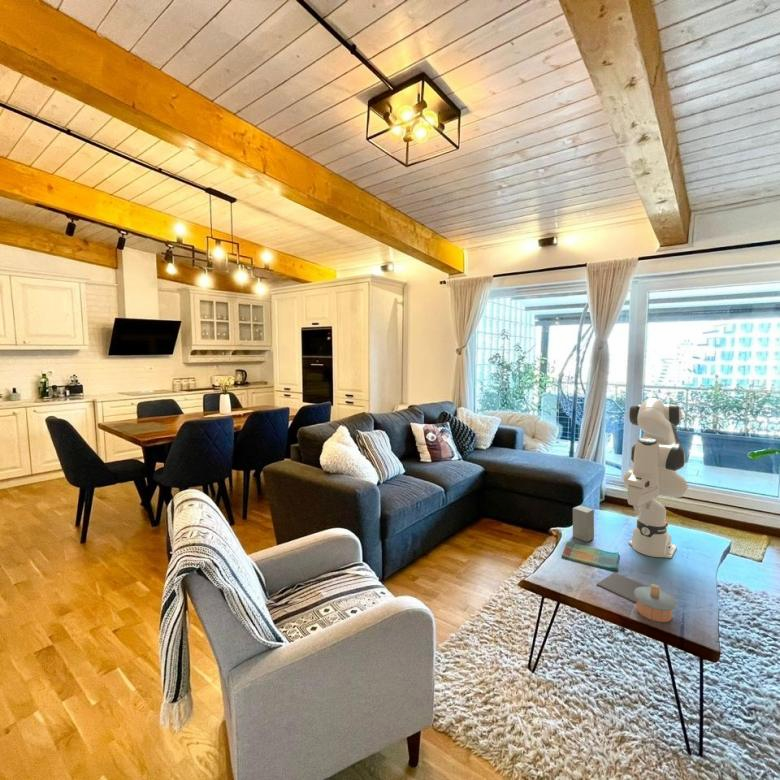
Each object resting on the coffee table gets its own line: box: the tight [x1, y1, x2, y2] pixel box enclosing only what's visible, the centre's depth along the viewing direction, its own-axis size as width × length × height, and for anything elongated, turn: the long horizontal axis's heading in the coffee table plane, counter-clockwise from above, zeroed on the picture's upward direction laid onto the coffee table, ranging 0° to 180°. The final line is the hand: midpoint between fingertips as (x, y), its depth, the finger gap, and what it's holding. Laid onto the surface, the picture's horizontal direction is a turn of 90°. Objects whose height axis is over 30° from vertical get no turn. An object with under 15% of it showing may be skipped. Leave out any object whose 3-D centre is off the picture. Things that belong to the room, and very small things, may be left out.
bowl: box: [635, 599, 674, 623], centre depth 154 cm, size 11×11×5 cm
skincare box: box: [572, 505, 595, 543], centre depth 213 cm, size 8×7×16 cm
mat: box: [596, 571, 649, 604], centre depth 170 cm, size 15×15×1 cm
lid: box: [634, 583, 677, 610], centre depth 153 cm, size 13×13×5 cm
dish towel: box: [561, 541, 621, 572], centre depth 194 cm, size 17×23×2 cm
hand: (642, 511), depth 169 cm, fingers open, 8 cm apart
